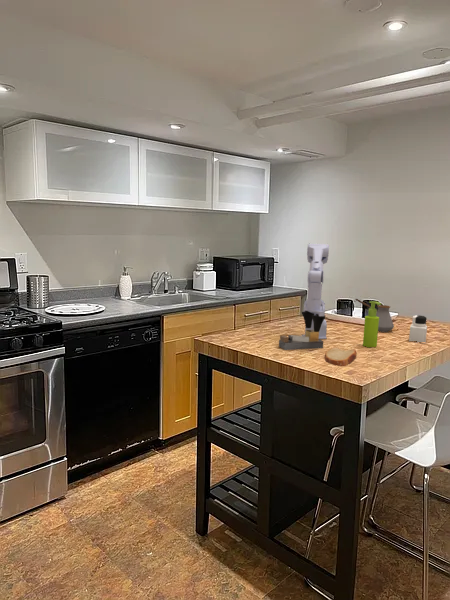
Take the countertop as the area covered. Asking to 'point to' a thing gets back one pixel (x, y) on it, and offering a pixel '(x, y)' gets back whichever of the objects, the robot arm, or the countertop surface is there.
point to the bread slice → (340, 356)
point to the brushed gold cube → (312, 335)
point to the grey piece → (298, 344)
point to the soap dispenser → (371, 326)
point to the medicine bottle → (418, 329)
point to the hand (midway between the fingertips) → (312, 329)
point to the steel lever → (298, 338)
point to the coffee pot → (382, 317)
